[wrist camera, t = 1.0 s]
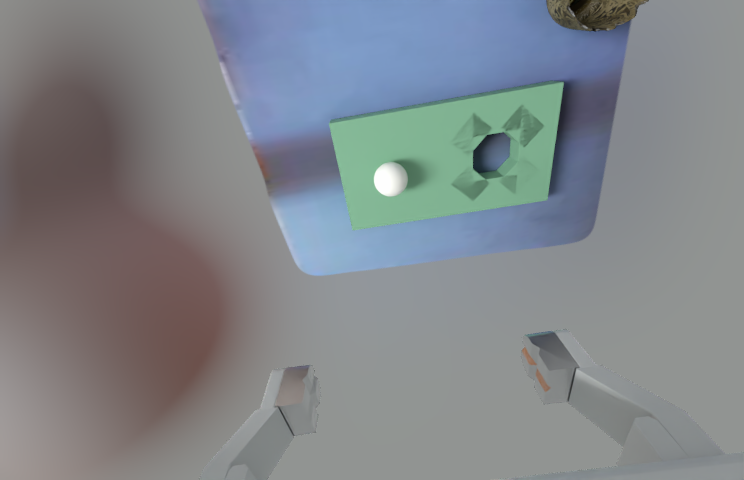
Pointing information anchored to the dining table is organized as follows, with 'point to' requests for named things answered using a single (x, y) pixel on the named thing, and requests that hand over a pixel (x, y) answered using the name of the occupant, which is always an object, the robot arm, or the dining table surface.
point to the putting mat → (448, 154)
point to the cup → (593, 13)
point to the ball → (390, 179)
